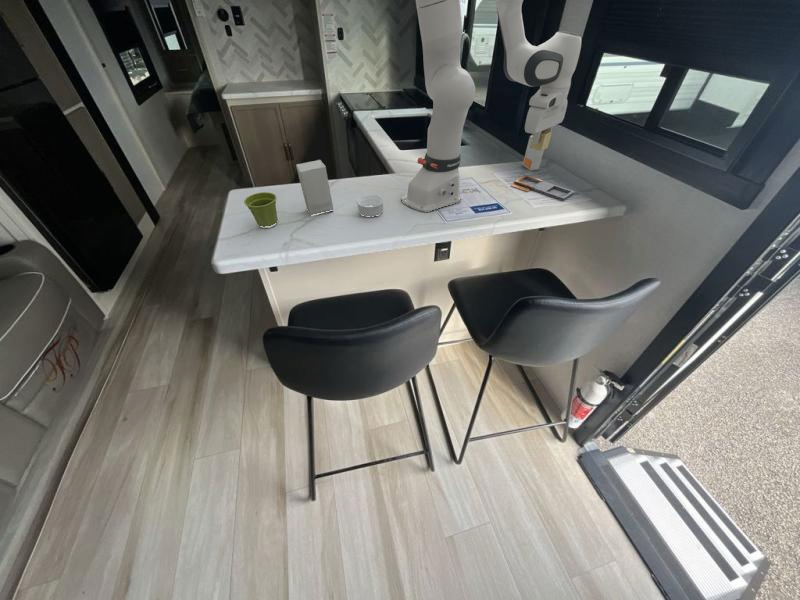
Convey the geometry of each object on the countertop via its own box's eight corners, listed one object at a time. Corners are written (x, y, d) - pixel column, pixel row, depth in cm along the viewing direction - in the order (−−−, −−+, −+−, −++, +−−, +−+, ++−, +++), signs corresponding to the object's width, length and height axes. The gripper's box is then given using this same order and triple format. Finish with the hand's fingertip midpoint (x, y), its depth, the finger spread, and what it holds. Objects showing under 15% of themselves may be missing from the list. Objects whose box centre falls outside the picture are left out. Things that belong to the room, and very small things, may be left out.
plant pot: (288, 224, 104) (281, 199, 98) (261, 235, 99) (252, 209, 93) (274, 214, 109) (267, 189, 103) (248, 224, 104) (238, 198, 98)
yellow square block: (541, 151, 113) (545, 133, 109) (529, 147, 115) (533, 130, 111) (547, 147, 115) (552, 130, 111) (536, 144, 118) (540, 127, 114)
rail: (559, 203, 112) (560, 200, 112) (509, 185, 123) (510, 182, 122) (573, 194, 118) (574, 190, 117) (524, 177, 129) (525, 174, 128)
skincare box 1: (329, 204, 114) (321, 158, 103) (334, 212, 110) (327, 166, 99) (305, 209, 111) (295, 163, 101) (310, 217, 107) (299, 170, 96)
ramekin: (355, 209, 111) (353, 197, 108) (379, 204, 114) (378, 192, 111) (362, 221, 105) (361, 209, 102) (387, 216, 108) (387, 204, 105)
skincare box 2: (522, 165, 138) (529, 135, 129) (530, 164, 139) (538, 134, 130) (530, 170, 133) (538, 140, 125) (539, 169, 134) (547, 139, 126)
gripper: (558, 89, 111) (546, 133, 121) (527, 100, 101) (516, 146, 111) (576, 92, 108) (562, 136, 117) (545, 103, 98) (533, 151, 107)
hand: (540, 141), depth 114 cm, fingers closed on yellow square block, 4 cm apart
